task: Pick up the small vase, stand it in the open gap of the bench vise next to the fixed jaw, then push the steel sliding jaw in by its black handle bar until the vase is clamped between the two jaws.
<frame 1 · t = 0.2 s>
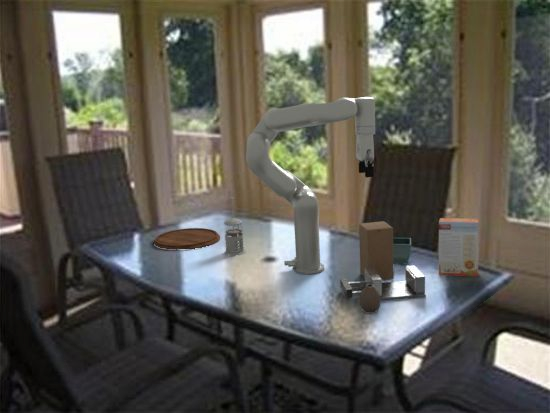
hand: (366, 174, 235), 37 cm above the table, tool pointing down, fingers open, 9 cm apart
vise: (391, 292, 213), on the table
cutting board: (187, 241, 292), on the table
flower pot: (399, 262, 244), on the table
sliding jaw: (360, 282, 212), point 4 cm above the table, slide at 0.0 cm
wooden block: (376, 277, 230), on the table
vase: (370, 311, 199), on the table
cracker box: (458, 274, 228), on the table
french press: (236, 252, 270), on the table
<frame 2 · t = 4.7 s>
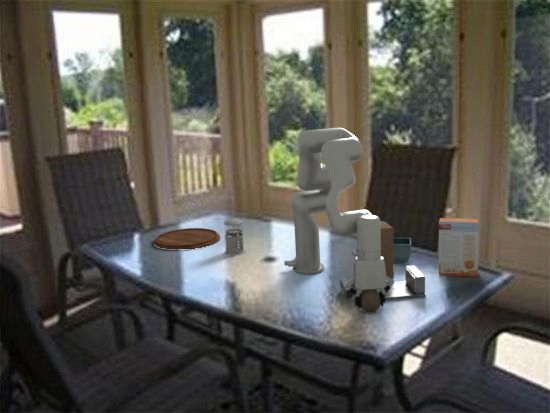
hand: (370, 305, 198), 2 cm above the table, tool pointing down, fingers closed on vase, 6 cm apart
vase: (370, 311, 199), on the table, touching gripper
everything else where it was.
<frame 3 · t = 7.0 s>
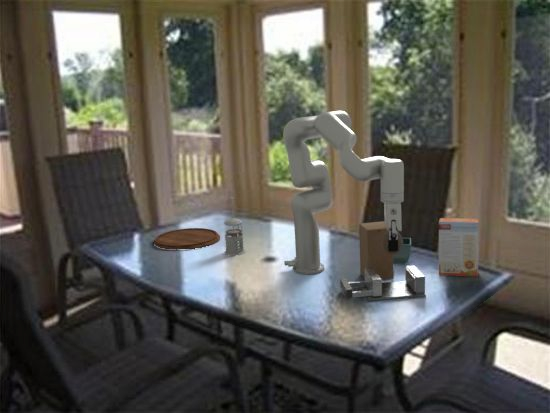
hand: (392, 247, 207), 17 cm above the table, tool pointing down, fingers closed on vase, 6 cm apart
vase: (392, 253, 207), point 15 cm above the table, touching gripper
everything else where it was.
when the fingers open (4 cm above the table, at t = 9.4 s): vase drops 1 cm, resting on vise.
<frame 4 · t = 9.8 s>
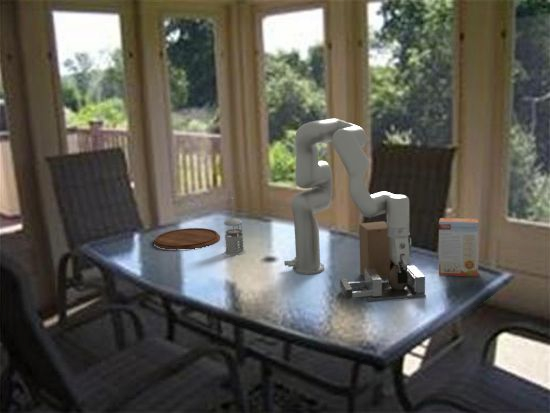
hand: (398, 278, 212), 5 cm above the table, tool pointing down, fingers open, 9 cm apart
vase: (398, 288, 213), point 1 cm above the table, touching vise
everything else where it was.
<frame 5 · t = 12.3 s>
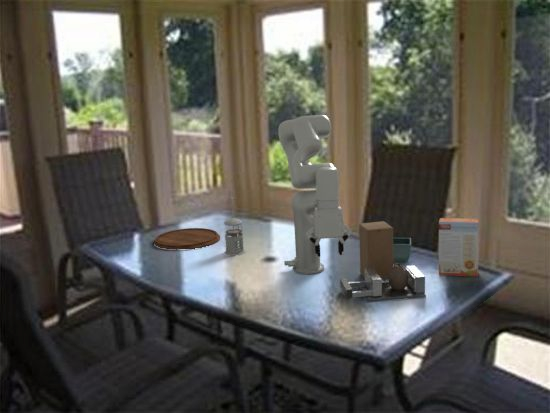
hand: (329, 254, 208), 16 cm above the table, tool pointing down, fingers open, 6 cm apart
nothing on the table moved.
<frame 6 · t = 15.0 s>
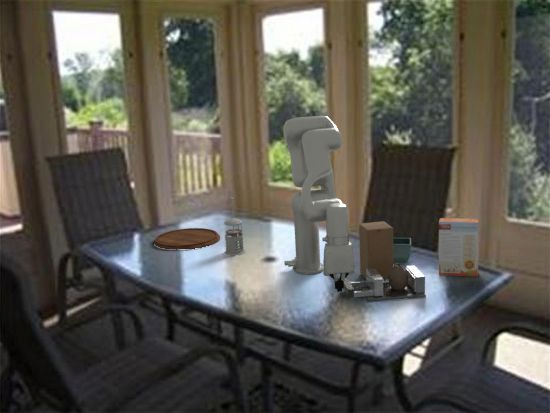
hand: (339, 290, 211), 2 cm above the table, tool pointing down, fingers closed
sliding jaw: (361, 282, 212), point 5 cm above the table, slide at 0.5 cm, touching gripper
everything else where it was.
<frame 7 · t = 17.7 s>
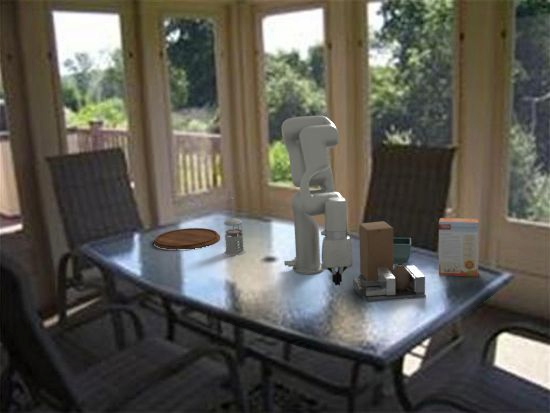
hand: (337, 283, 212), 4 cm above the table, tool pointing down, fingers closed
sliding jaw: (373, 281, 212), point 4 cm above the table, slide at 4.7 cm
everything else where it was.
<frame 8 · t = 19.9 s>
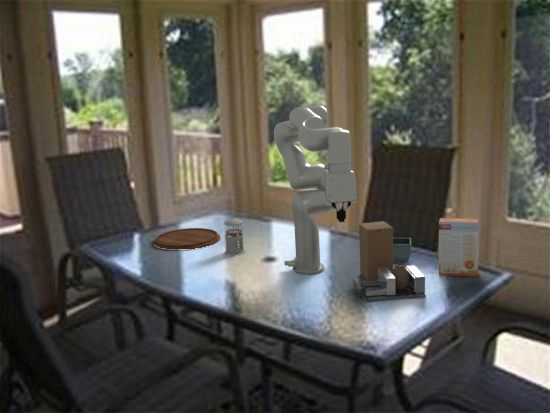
hand: (341, 221, 206), 27 cm above the table, tool pointing down, fingers closed
nothing on the table moved.
at the end: sliding jaw slide at 4.7 cm; vase inside the target area on the vise (0.2 cm from its centre), point 1.0 cm above the vise's base; vase tilted 0° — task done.
